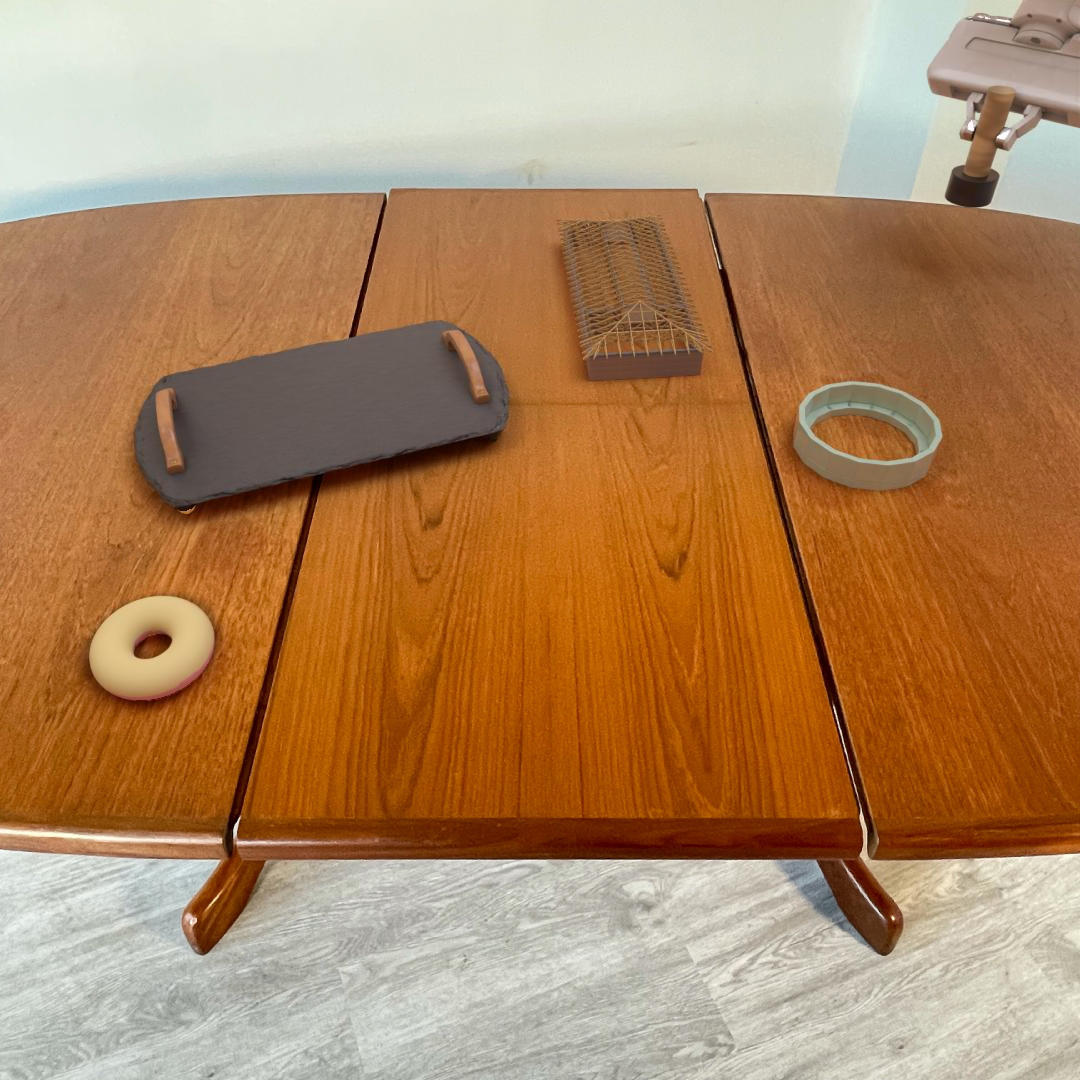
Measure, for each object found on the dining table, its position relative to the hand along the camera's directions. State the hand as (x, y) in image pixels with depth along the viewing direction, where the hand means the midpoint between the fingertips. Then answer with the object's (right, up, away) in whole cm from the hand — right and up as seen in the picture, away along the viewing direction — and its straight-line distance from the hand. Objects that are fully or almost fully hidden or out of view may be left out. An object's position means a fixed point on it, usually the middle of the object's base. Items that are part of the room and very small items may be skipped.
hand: (983, 142), depth 99 cm
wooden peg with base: (+1, -4, +5) cm, 7 cm away
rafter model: (-39, -15, +12) cm, 44 cm away
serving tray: (-73, -32, -4) cm, 80 cm away
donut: (-81, -55, -27) cm, 101 cm away
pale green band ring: (-18, -37, -11) cm, 42 cm away
